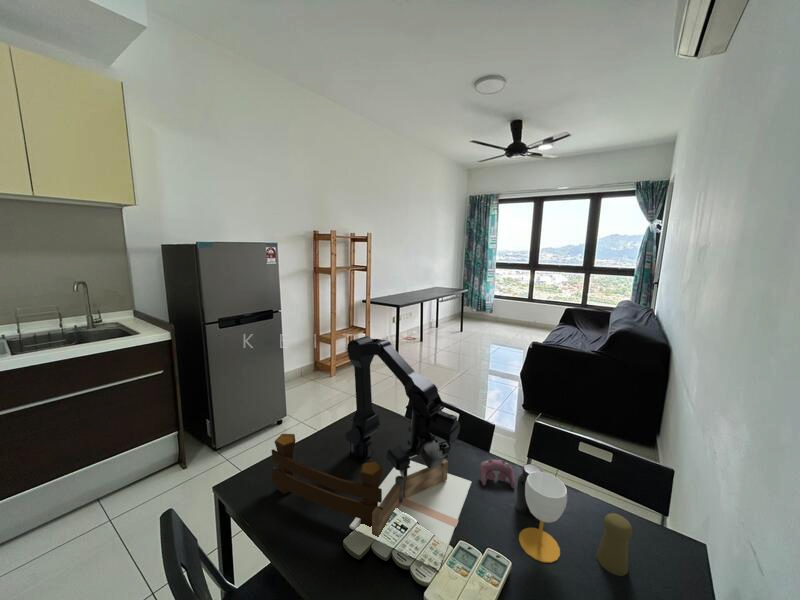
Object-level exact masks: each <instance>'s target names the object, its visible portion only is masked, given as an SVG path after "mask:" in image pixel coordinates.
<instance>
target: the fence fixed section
mask: <svg viewBox="0 0 800 600" xmlns="http://www.w3.org/2000/svg"><path fill="white" fill-rule="evenodd" d="M403 484H404V478H403V477H402V476H397V477H396V479H395V484H394V485H393V487H392V488H391V490H390V491H389V493H388V494H387V495H386V497H385V498H384V500H383V501H382V503H381V504H380V505H379V507H382V508H383V510H382V509H380V508H378V507H376V508H375V509H374V511H373V512H372V534H373V535H375V536H377V537H379V535H380V534H381V532H382V530H383V528H384V527H385V525H386V523H387V521H388V520H389V518H390V516H391V515H392V513H393V511H394V510H395V508H396V507H397V506H398V504H399V503H401V502H402V501H403Z"/></svg>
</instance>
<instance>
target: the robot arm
mask: <svg viewBox="0 0 800 600" xmlns="http://www.w3.org/2000/svg"><path fill="white" fill-rule="evenodd" d="M346 349H347V355H348V359H349V361H350V363H351V364H352V366H353V368H354V383H355V386H354V387H355V404H356V411H355V413H354V415H353V417H352V420H351V421H352V422H351V429H350V430H349V431H347V432H346V433H344V436H345V441H347V442H348V443H349V452H348V454H346V457H347V458H350V459H353V460H355V461H357V462H360V463H364V462H366V460H367V459H368V458H369V457H370V456H371V455H372V454H373V453H374V450H373V443H372V437H371V436H373V435H375V433H376V431H378V430H379V426H380V425H381V424H380V414H379V413H377V412H375V410H374V409H373V399H372V396H373V395H372V378H371V377H372V375H371V364H372V361H373V359H374V357H375V356H377V357H378V358H379V359H380V360H381V361H382V362H383V364H385V365H386V367H387V368H388V369H389V370H390V371H391V373H393V375H394V376H395V378H396V379H398V380H399V382H400V383H401V384H402V385H403V387H404V391H405V395H406V397H407V398H408V400H409V401H410V403H409V404H408V405H406V406H405V408H406V409H407V410H408V411H411V413H412V414H411V426H408V432H410V438H409V439H407V444H408V446H409V448H407V449H405V450H404V449H403V447H401V446H400V445H399V446H396V447H393V448H390V449H388V450H387V451H386V459H387V461H388V462H389V463H390V464H391V465H392V466H393V468H395V469H396V470H399V471H400V474H401V476H402V477H405V476H407V469H408V468H410V466H409V464H410V460H411V459H413V458H415V457H422V460H423V461H424V462H425V466H427V467H428V468H434V467H435V466H438V465H441V464H442V462H443V460H444V459H446V460H447V459H448V458H449V453H450V451H451V445H452V444H453V443H454V442H455V443H456V440H457V438H458V437H459V436H458V435H459V433H460V431H461V430H460V429H461V425H460V421H459V420H458V416H457V415H454V414H450V413H448V412H445V411H443V410H444V409H445V408H446V406H445V405H444V402H443V401H442V400H443V399H442V398H441V395H440V394H439V389H438V387H437V386H436V384H434V383H433V382H432V381H431V380H430V379H428V378H427V377H426V376H424V375H421V374H419V373H418V372H416V371H415V370H414V369H413V367H411V366H410V364H409V363H408V362H407V361H406V360H405V358H403V356H402V355H400V353H399V352H398V351H397V350H396V349H395V348H394V346H392V342H391V341H390V340H388V339H380V338H371V336H366V335H365V336H362V337H359V338H355V339H352V340H350V341H349V343H348V344H347V348H346ZM432 403H433V404H434V405H432V406H431V407H429V406H430V405H431V404H432Z"/></svg>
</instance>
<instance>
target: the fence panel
mask: <svg viewBox="0 0 800 600" xmlns="http://www.w3.org/2000/svg"><path fill="white" fill-rule="evenodd" d="M448 471H449V461H448V460H447V458H446V459H444V460H443V462H442V464H441V465H438V466H435V467H434V468H428V467H427V468H425V469H422V470H420V471H417V472H415V473H413V474H410V475H408V476H405V477H403V478H404V484H403V497H404V498H407V497H409V496H412V495H414V494H416V493H418V492H420V491H422V490H425V489H427V488H429V487H431V486H433V485H436V484H438V483H440V482H443V481H445V480H447V473H448ZM448 474H449V473H448Z"/></svg>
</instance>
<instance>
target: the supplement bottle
mask: <svg viewBox="0 0 800 600" xmlns="http://www.w3.org/2000/svg"><path fill="white" fill-rule="evenodd" d="M534 472H544V471H543V469H542V468H541V467H540V466H538V465H536V464H534V463H533V464H532V463H526V464H524V465H523V467H522V472H521V473H520V474H519V475H518V477H517V483H516V484H517V487H516V495H515V497H516V498H515V507H516V510H517V511H518V513H519V514H520V515H521V516H523V517H525V518H527V519H528V520H538V519H537V518H536V517H535V516H534V515H533V514H532V513H531V512H530V510H529V507H528V505H527V502H526V497H525V484H526V480H527V477H528V475H529V474H530V473H534Z"/></svg>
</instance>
